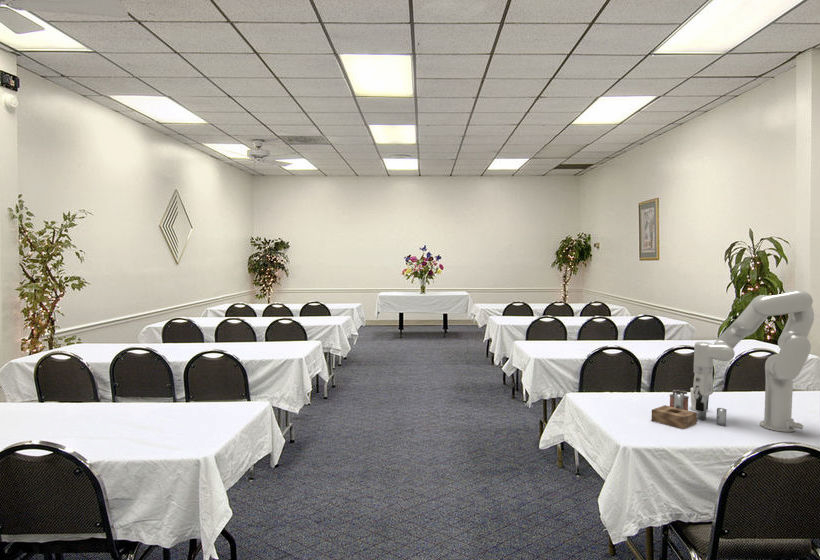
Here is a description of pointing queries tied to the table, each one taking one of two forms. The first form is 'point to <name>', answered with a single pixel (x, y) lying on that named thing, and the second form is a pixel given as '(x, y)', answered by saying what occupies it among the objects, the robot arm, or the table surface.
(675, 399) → the medium pin
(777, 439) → the table surface
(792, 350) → the robot arm
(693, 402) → the white cup
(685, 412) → the socket block
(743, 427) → the table surface
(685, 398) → the silver copper upright piece
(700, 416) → the long pin
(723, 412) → the short pin
